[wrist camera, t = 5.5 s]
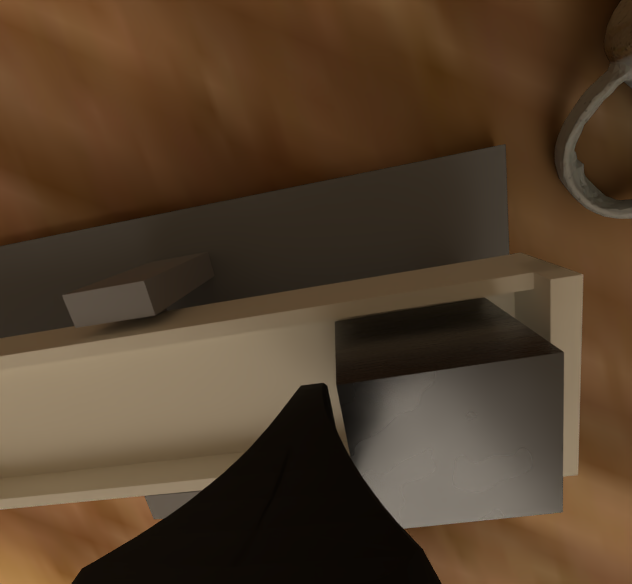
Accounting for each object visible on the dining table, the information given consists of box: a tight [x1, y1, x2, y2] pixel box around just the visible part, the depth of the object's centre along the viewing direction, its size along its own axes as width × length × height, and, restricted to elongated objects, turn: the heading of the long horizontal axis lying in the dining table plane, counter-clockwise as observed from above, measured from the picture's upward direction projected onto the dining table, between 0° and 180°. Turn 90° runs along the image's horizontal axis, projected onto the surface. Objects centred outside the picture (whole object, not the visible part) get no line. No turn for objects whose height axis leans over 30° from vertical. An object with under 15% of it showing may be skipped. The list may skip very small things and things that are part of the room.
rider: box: [335, 297, 564, 529], centre depth 10 cm, size 4×5×4 cm
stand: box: [0, 144, 509, 519], centre depth 16 cm, size 14×30×6 cm, turn 101°
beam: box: [0, 253, 583, 510], centre depth 13 cm, size 7×28×4 cm, turn 101°
